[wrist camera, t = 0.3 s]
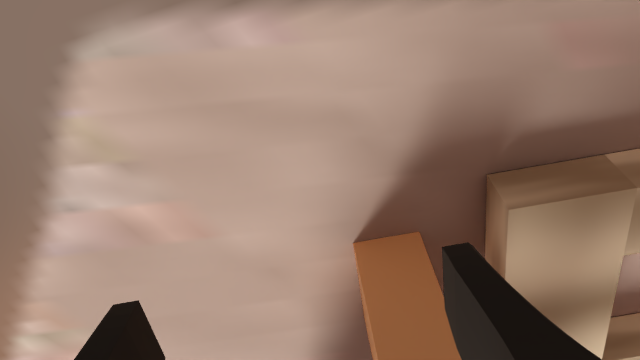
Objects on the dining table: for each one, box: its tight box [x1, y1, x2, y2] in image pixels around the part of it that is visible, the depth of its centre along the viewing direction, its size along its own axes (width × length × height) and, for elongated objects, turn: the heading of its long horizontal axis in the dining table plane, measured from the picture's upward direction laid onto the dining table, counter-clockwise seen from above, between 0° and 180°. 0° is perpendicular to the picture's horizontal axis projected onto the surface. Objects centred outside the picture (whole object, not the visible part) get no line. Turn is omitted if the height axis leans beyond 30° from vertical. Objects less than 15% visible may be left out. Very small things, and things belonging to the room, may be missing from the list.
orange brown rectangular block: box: [353, 232, 462, 360], centre depth 24 cm, size 5×3×7 cm, turn 8°
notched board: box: [485, 149, 640, 360], centre depth 26 cm, size 14×11×2 cm
